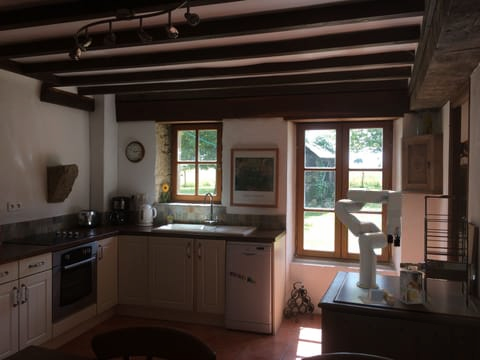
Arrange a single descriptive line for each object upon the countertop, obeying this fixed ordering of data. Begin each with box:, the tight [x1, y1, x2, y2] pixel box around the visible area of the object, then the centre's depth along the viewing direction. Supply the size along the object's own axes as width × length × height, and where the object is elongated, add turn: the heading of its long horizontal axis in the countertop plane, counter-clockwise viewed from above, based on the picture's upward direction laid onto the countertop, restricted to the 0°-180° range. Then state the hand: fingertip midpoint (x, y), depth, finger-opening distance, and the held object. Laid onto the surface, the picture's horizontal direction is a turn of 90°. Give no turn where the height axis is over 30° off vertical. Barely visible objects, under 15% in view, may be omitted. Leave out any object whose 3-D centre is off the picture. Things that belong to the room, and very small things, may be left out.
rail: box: [381, 289, 395, 305], centre depth 198 cm, size 12×2×4 cm, turn 179°
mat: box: [357, 295, 388, 305], centre depth 199 cm, size 11×12×1 cm
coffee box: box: [399, 269, 423, 305], centre depth 197 cm, size 9×6×16 cm
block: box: [368, 288, 383, 301], centre depth 199 cm, size 4×5×6 cm
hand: (393, 244), depth 205 cm, fingers open, 9 cm apart
